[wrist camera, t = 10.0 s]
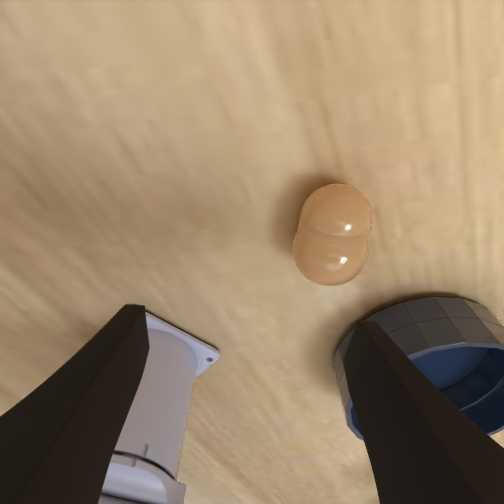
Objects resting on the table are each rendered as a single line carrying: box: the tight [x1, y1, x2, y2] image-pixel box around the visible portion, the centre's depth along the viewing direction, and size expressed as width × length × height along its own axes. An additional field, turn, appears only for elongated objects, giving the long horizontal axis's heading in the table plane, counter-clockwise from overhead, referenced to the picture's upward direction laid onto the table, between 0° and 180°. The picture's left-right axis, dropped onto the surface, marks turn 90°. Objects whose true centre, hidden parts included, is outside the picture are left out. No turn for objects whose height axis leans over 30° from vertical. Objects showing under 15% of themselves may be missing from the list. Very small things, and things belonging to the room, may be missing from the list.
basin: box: [333, 297, 504, 441], centre depth 23 cm, size 13×13×4 cm
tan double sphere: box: [292, 183, 372, 286], centre depth 17 cm, size 6×4×4 cm
